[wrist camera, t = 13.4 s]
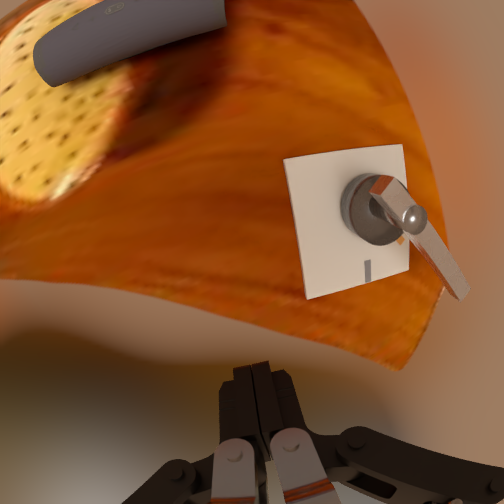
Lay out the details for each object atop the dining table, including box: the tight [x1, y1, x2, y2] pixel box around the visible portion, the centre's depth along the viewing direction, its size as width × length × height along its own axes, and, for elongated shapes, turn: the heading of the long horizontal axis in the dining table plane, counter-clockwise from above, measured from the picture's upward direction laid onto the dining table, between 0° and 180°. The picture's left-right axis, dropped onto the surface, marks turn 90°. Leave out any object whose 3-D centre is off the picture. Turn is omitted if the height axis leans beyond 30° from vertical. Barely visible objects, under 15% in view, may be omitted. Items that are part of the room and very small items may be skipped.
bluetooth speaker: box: [33, 0, 227, 87], centre depth 22 cm, size 23×9×10 cm, turn 102°
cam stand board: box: [283, 144, 409, 300], centre depth 37 cm, size 20×18×1 cm
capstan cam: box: [341, 173, 471, 302], centre depth 31 cm, size 21×9×12 cm, turn 51°
